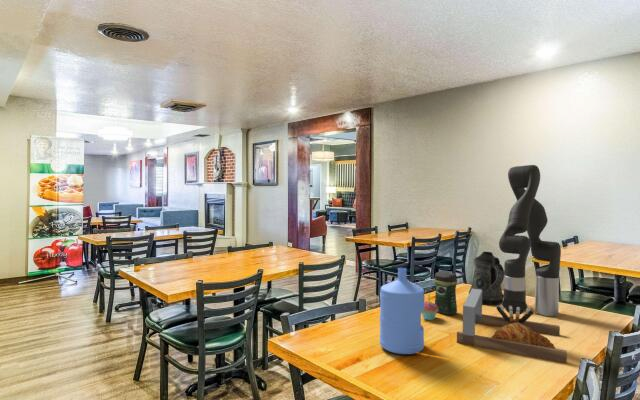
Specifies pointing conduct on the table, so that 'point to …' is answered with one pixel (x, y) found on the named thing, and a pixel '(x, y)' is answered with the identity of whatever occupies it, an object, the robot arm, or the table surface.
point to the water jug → (401, 315)
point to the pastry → (522, 335)
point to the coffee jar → (446, 293)
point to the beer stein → (488, 278)
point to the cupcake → (429, 309)
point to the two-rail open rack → (474, 314)
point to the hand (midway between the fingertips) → (514, 332)
